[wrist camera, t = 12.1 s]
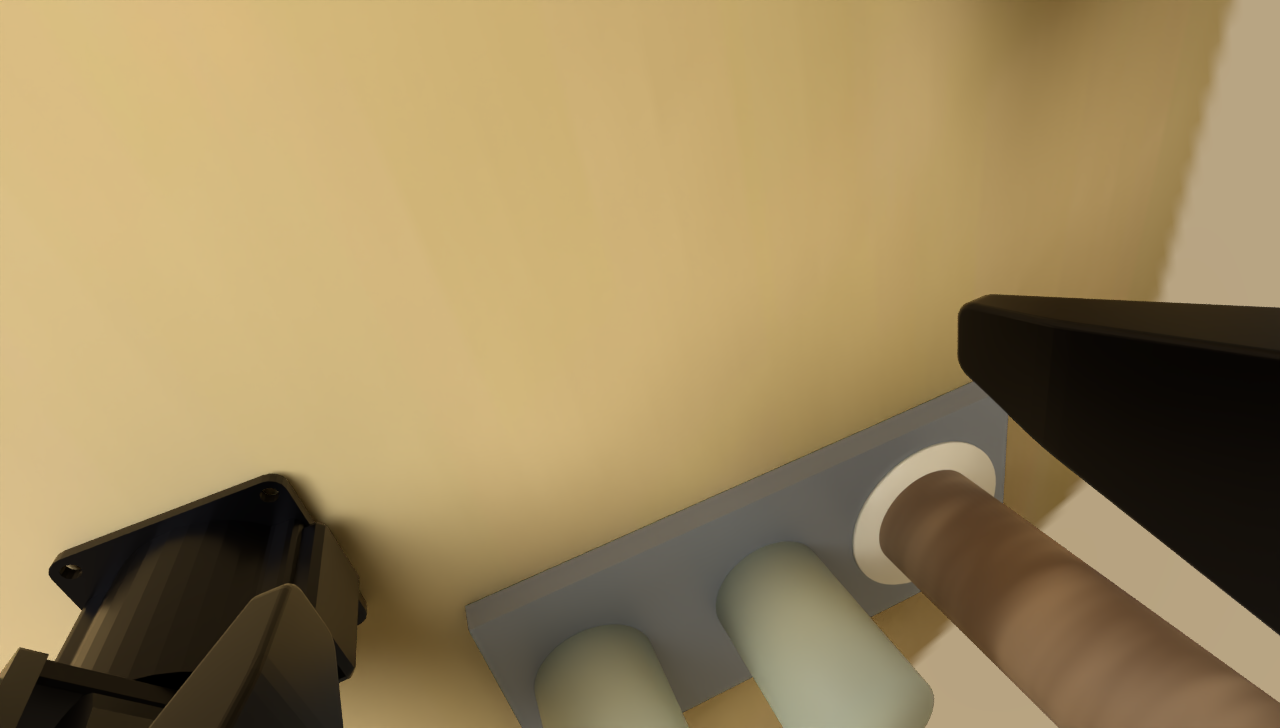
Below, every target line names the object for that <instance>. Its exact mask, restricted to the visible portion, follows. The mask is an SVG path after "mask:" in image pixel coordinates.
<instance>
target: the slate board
mask: <svg viewBox="0 0 1280 728" xmlns="http://www.w3.org/2000/svg"><path fill="white" fill-rule="evenodd" d="M1007 425H1008V414H1007V413H1006V412H1005V411H1004V410H1003V409H1002V408H1001V407H1000V406H999V405H998V404H997V403H995V402H994V401H993V400H992V399H991V398H990V397H989V396H988V395H987V394H986V393H985V392H984V391H983V390H982V389H981V388H980V387H979V386H978V385H977V384H976V383H975V382H974V381H973V382H971V383H969V384H966V385H964V386H962V387H960V388H957V389H955V390H953V391H951V392H948V393H946V394H944V395H942V396H939V397H937V398H935V399H933V400H930V401H928V402H926V403H924V404H921V405H919V406H917V407H914V408H912V409H910V410H908V411H905V412H903V413H901V414H899V415H896V416H894V417H892V418H890V419H887V420H885V421H883V422H881V423H878V424H876V425H874V426H872V427H869V428H867V429H865V430H862V431H860V432H858V433H856V434H853V435H851V436H849V437H847V438H844V439H842V440H840V441H838V442H835V443H833V444H831V445H829V446H826V447H824V448H822V449H820V450H817V451H815V452H813V453H810V454H808V455H806V456H804V457H801V458H799V459H797V460H795V461H792V462H790V463H788V464H786V465H783V466H781V467H779V468H777V469H774V470H772V471H770V472H768V473H765V474H763V475H761V476H759V477H756V478H754V479H752V480H749V481H747V482H745V483H743V484H740V485H738V486H736V487H734V488H731V489H729V490H727V491H725V492H722V493H720V494H718V495H716V496H713V497H711V498H709V499H707V500H704V501H702V502H700V503H697V504H695V505H693V506H691V507H688V508H686V509H684V510H682V511H679V512H677V513H675V514H673V515H670V516H668V517H666V518H664V519H661V520H659V521H657V522H655V523H652V524H650V525H648V526H646V527H643V528H641V529H639V530H636V531H634V532H632V533H630V534H627V535H625V536H623V537H621V538H618V539H616V540H614V541H612V542H609V543H607V544H605V545H603V546H600V547H598V548H596V549H594V550H591V551H589V552H587V553H584V554H582V555H580V556H578V557H575V558H573V559H571V560H569V561H566V562H564V563H562V564H560V565H557V566H555V567H553V568H551V569H548V570H546V571H544V572H542V573H539V574H537V575H535V576H533V577H530V578H528V579H526V580H523V581H521V582H519V583H517V584H514V585H512V586H510V587H508V588H505V589H503V590H501V591H499V592H496V593H494V594H492V595H490V596H487V597H485V598H483V599H481V600H478V601H476V602H474V603H471V604H469V605H467V606H465V610H466V617H467V623H468V630H469V632H470V634H471V636H472V638H473V639H474V641H475V643H476V645H477V647H478V648H479V650H480V652H481V654H482V656H483V658H484V659H485V661H486V663H487V665H488V667H489V669H490V670H491V672H492V674H493V676H494V678H495V679H496V681H497V683H498V685H499V687H500V689H501V690H502V692H503V694H504V696H505V698H506V699H507V701H508V703H509V705H510V707H511V709H512V710H513V712H514V714H515V716H516V718H517V720H518V721H519V723H520V725H521V727H522V728H543V725H542V721H541V717H540V713H539V709H538V705H537V700H536V696H535V691H534V684H535V679H536V675H537V673H538V670H539V668H540V666H541V665H542V663H543V662H544V660H545V659H546V658H547V656H548V655H549V654H550V653H551V652H552V651H553V650H554V649H555V648H556V647H557V646H559V645H560V644H561V643H562V642H564V641H565V640H567V639H568V638H570V637H572V636H574V635H576V634H577V633H580V632H582V631H584V630H587V629H590V628H593V627H597V626H602V625H611V624H618V625H626V626H630V627H633V628H635V629H637V630H639V631H641V632H642V633H643V634H644V635H645V636H647V638H648V639H649V641H650V643H651V645H652V647H653V649H654V651H655V654H656V656H657V658H658V660H659V662H660V665H661V667H662V669H663V671H664V673H665V676H666V678H667V680H668V682H669V684H670V687H671V689H672V691H673V693H674V695H675V698H676V700H677V702H678V704H679V706H680V708H681V711H682V713H683V712H685V711H687V710H689V709H691V708H693V707H695V706H697V705H699V704H701V703H703V702H705V701H707V700H709V699H710V698H712V697H714V696H716V695H718V694H720V693H722V692H724V691H726V690H728V689H730V688H732V687H734V686H736V685H738V684H740V683H742V682H744V681H746V680H748V679H750V678H752V677H753V676H752V675H751V673H750V671H749V670H748V668H747V666H746V665H745V663H744V661H743V660H742V658H741V656H740V655H739V653H738V651H737V650H736V648H735V646H734V644H733V643H732V641H731V639H730V638H729V636H728V634H727V633H726V631H725V629H724V628H723V626H722V624H721V623H720V621H719V619H718V617H717V613H716V599H717V595H718V592H719V589H720V587H721V585H722V583H723V581H724V580H725V578H726V577H727V575H728V574H729V572H730V571H731V570H732V569H733V568H734V567H735V566H736V565H737V564H738V563H739V562H740V561H741V560H743V559H744V558H745V557H746V556H748V555H749V554H751V553H752V552H754V551H756V550H758V549H760V548H762V547H764V546H767V545H770V544H773V543H778V542H786V541H790V542H798V543H801V544H804V545H806V546H807V547H809V548H810V549H811V550H812V551H813V552H814V553H815V554H816V555H817V556H818V558H819V559H820V560H821V561H822V562H823V563H824V565H825V566H826V567H827V568H828V569H829V570H830V571H831V573H832V574H833V575H834V576H835V577H836V578H837V580H838V581H839V582H840V583H841V584H842V585H843V586H844V588H845V589H846V590H847V591H848V592H849V593H850V595H851V596H852V597H853V598H854V599H855V600H856V601H857V603H858V604H859V605H860V606H861V607H862V608H863V610H864V611H865V612H866V613H867V614H868V615H869V616H870V617H872V616H874V615H876V614H878V613H880V612H882V611H884V610H886V609H888V608H890V607H892V606H894V605H896V604H898V603H900V602H902V601H904V600H905V599H907V598H909V597H911V596H913V595H915V594H917V593H919V592H921V591H920V590H919V589H918V588H917V587H916V586H915V585H914V584H913V583H912V582H911V581H910V580H909V579H908V578H907V577H906V576H905V575H904V574H903V573H902V572H901V571H900V570H899V569H898V568H897V567H896V566H895V565H894V564H893V563H892V562H891V561H890V560H889V559H888V558H887V557H886V556H885V555H884V553H883V552H882V550H881V547H880V543H879V532H880V527H881V524H882V521H883V518H884V516H885V514H886V512H887V510H888V509H889V507H890V505H891V504H892V503H893V501H894V500H895V499H896V497H897V496H898V495H899V494H900V493H901V492H902V491H903V490H904V489H905V488H906V487H908V486H909V485H910V484H911V483H913V482H914V481H916V480H917V479H919V478H921V477H923V476H924V475H927V474H929V473H932V472H935V471H939V470H953V471H957V472H959V473H961V474H963V475H964V476H965V477H967V478H968V479H970V480H971V481H972V482H974V483H975V484H977V485H978V486H979V487H981V488H982V489H983V490H985V491H986V492H988V493H989V494H990V495H992V496H993V497H995V498H996V499H997V500H999V501H1000V502H1002V503H1003V495H1004V477H1005V460H1006V442H1007Z"/></svg>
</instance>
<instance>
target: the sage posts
mask: <svg viewBox="0 0 1280 728" xmlns="http://www.w3.org/2000/svg"><path fill="white" fill-rule="evenodd" d="M716 613H717V617H718V619H719V621H720V623H721V624H722V626H723V628H724V629H725V631H726V633H727V634H728V636H729V638H730V639H731V641H732V643H733V644H734V646H735V648H736V650H737V651H738V653H739V655H740V656H741V658H742V660H743V661H744V663H745V665H746V666H747V668H748V670H749V671H750V673H751V675H752V676H753V678H754V680H755V681H756V683H757V685H758V686H759V688H760V690H761V691H762V693H763V695H764V697H765V698H766V700H767V702H768V703H769V705H770V707H771V708H772V710H773V712H774V713H775V715H776V717H777V718H778V720H779V722H780V723H781V725H782V727H783V728H925V726H926V725H927V723H928V721H929V719H930V716H931V713H932V710H933V705H934V695H933V692H932V689H931V688H930V686H929V685H928V683H927V682H926V681H925V680H924V679H923V678H922V677H921V675H920V674H919V673H918V672H917V671H916V670H915V668H914V667H913V666H912V665H911V664H910V663H909V661H908V660H907V659H906V658H905V657H904V656H903V655H902V653H901V652H900V651H899V650H898V649H897V648H896V646H895V645H894V644H893V643H892V642H891V641H890V640H889V638H888V637H887V636H886V635H885V634H884V633H883V631H882V630H881V629H880V628H879V627H878V626H877V625H876V623H875V622H874V621H873V620H872V619H871V618H870V616H869V615H868V614H867V613H866V612H865V611H864V610H863V608H862V607H861V606H860V605H859V604H858V603H857V601H856V600H855V599H854V598H853V597H852V596H851V595H850V593H849V592H848V591H847V590H846V589H845V588H844V586H843V585H842V584H841V583H840V582H839V581H838V580H837V578H836V577H835V576H834V575H833V574H832V573H831V571H830V570H829V569H828V568H827V567H826V566H825V565H824V563H823V562H822V561H821V560H820V559H819V558H818V556H817V555H816V554H815V553H814V552H813V551H812V550H811V549H810V548H809V547H807V546H806V545H804V544H801V543H798V542H790V541H786V542H778V543H773V544H770V545H767V546H764V547H762V548H760V549H758V550H756V551H754V552H752V553H751V554H749V555H748V556H746V557H745V558H744V559H743V560H741V561H740V562H739V563H738V564H737V565H736V566H735V567H734V568H733V569H732V570H731V571H730V572H729V574H728V575H727V577H726V578H725V580H724V581H723V583H722V585H721V587H720V589H719V592H718V595H717V599H716ZM534 691H535V696H536V700H537V705H538V709H539V713H540V717H541V721H542V725H543V728H689V726H688V724H687V722H686V719H685V717H684V715H683V713H682V711H681V708H680V706H679V704H678V702H677V700H676V698H675V695H674V693H673V691H672V689H671V687H670V684H669V682H668V680H667V678H666V676H665V673H664V671H663V669H662V667H661V665H660V662H659V660H658V658H657V656H656V654H655V651H654V649H653V647H652V645H651V643H650V641H649V639H648V638H647V636H645V635H644V634H643V633H642V632H641V631H639V630H637V629H635V628H633V627H630V626H626V625H618V624H611V625H602V626H597V627H593V628H590V629H587V630H584V631H582V632H580V633H577V634H576V635H574V636H572V637H570V638H568V639H567V640H565V641H564V642H562V643H561V644H560V645H559V646H557V647H556V648H555V649H554V650H553V651H552V652H551V653H550V654H549V655H548V656H547V658H546V659H545V660H544V662H543V663H542V665H541V666H540V668H539V670H538V673H537V675H536V679H535V684H534Z"/></svg>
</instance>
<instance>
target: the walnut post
mask: <svg viewBox="0 0 1280 728" xmlns="http://www.w3.org/2000/svg"><path fill="white" fill-rule="evenodd" d="M879 543H880V547H881V550H882V552H883V553H884V555H885V556H886V557H887V558H888V559H889V560H890V561H891V562H892V563H893V564H894V565H895V566H896V567H897V568H898V569H899V570H900V571H901V572H902V573H903V574H904V575H905V576H906V577H907V578H908V579H909V580H910V581H911V582H912V583H913V584H914V585H915V586H916V587H917V588H918V589H919V590H920V591H921V592H922V593H923V594H924V595H925V596H926V597H928V598H929V599H930V600H931V601H932V602H933V603H934V604H935V605H936V606H937V607H938V608H939V609H940V610H941V611H942V612H943V613H944V614H945V615H946V616H947V617H948V618H949V619H950V620H951V621H952V622H953V623H954V624H955V625H956V626H957V627H958V628H959V629H960V630H961V631H962V632H963V633H964V634H965V635H966V636H967V637H968V638H969V639H970V640H971V641H972V642H973V643H974V644H975V645H976V646H977V647H978V648H979V649H980V650H981V651H982V652H983V653H984V654H985V655H986V656H987V657H988V658H989V659H990V660H991V661H992V662H993V663H994V664H995V665H996V666H997V667H998V668H999V669H1000V670H1001V671H1002V672H1003V673H1004V674H1005V675H1006V676H1007V677H1008V678H1009V679H1010V680H1011V681H1012V682H1014V684H1015V685H1016V686H1017V687H1018V688H1019V689H1020V690H1021V691H1022V692H1023V693H1024V694H1025V695H1026V696H1027V697H1028V698H1029V699H1031V701H1032V702H1033V703H1034V704H1035V705H1036V706H1038V707H1039V708H1040V710H1042V712H1043V713H1045V714H1046V715H1047V716H1048V717H1049V718H1050V719H1051V720H1052V721H1053V722H1054V723H1055V724H1056V725H1057V726H1058V727H1059V728H1280V703H1279V702H1278V701H1276V700H1275V699H1273V698H1272V697H1271V696H1269V695H1268V694H1267V693H1265V692H1264V691H1262V690H1261V689H1260V688H1258V687H1257V686H1256V685H1254V684H1252V683H1251V682H1250V681H1249V680H1247V679H1246V678H1244V677H1243V676H1242V675H1240V674H1239V673H1237V672H1236V671H1235V670H1233V669H1232V668H1230V667H1229V666H1228V665H1226V664H1225V663H1224V662H1222V661H1221V660H1219V659H1218V658H1217V657H1215V656H1214V655H1213V654H1211V653H1210V652H1208V651H1207V650H1205V649H1204V648H1203V647H1201V646H1200V645H1198V644H1197V643H1196V642H1194V641H1193V640H1192V639H1190V638H1189V637H1188V636H1186V635H1185V634H1183V633H1182V632H1181V631H1179V630H1178V629H1176V628H1175V627H1174V626H1172V625H1171V624H1169V623H1168V622H1167V621H1165V620H1164V619H1162V618H1161V617H1160V616H1158V615H1157V614H1156V613H1154V612H1153V611H1151V610H1150V609H1149V608H1147V607H1146V606H1145V605H1143V604H1142V603H1140V602H1139V601H1138V600H1136V599H1135V598H1133V597H1132V596H1130V595H1129V594H1128V593H1126V592H1125V591H1124V590H1122V589H1121V588H1119V587H1118V586H1117V585H1115V584H1114V583H1113V582H1111V581H1110V580H1108V579H1107V578H1106V577H1104V576H1103V575H1101V574H1100V573H1099V572H1097V571H1096V570H1094V569H1093V568H1092V567H1090V566H1089V565H1088V564H1086V563H1085V562H1083V561H1082V560H1081V559H1079V558H1078V557H1076V556H1075V555H1074V554H1072V553H1071V552H1070V551H1068V550H1067V549H1065V548H1064V547H1062V546H1061V545H1060V544H1058V543H1057V542H1056V541H1054V540H1053V539H1052V538H1050V537H1049V536H1047V535H1046V534H1045V533H1043V532H1042V531H1040V530H1039V529H1038V528H1036V527H1035V526H1033V525H1032V524H1031V523H1029V522H1028V521H1027V520H1025V519H1024V518H1022V517H1021V516H1020V515H1018V514H1017V513H1015V512H1014V511H1013V510H1011V509H1010V508H1008V507H1007V506H1006V505H1004V504H1003V503H1002V502H1000V501H999V500H997V499H996V498H995V497H993V496H992V495H990V494H989V493H988V492H986V491H985V490H983V489H982V488H981V487H979V486H978V485H977V484H975V483H974V482H972V481H971V480H970V479H968V478H967V477H965V476H964V475H963V474H961V473H959V472H957V471H953V470H939V471H935V472H932V473H929V474H927V475H924V476H923V477H921V478H919V479H917V480H916V481H914V482H913V483H911V484H910V485H909V486H908V487H906V488H905V489H904V490H903V491H902V492H901V493H900V494H899V495H898V496H897V497H896V499H895V500H894V501H893V503H892V504H891V505H890V507H889V509H888V510H887V512H886V514H885V516H884V518H883V521H882V524H881V527H880V532H879Z"/></svg>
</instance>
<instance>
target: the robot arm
mask: <svg viewBox="0 0 1280 728" xmlns="http://www.w3.org/2000/svg"><path fill="white" fill-rule="evenodd" d="M957 355H958V361H959V364H960V366H961V368H962V370H963V371H964V372H965V374H966V375H967V376H968V377H969V378H970V379H971V380H973V381H974V382H975V383H976V384H977V385H978V386H979V387H980V388H981V389H982V390H983V391H984V392H985V393H986V394H987V395H988V396H989V397H990V398H991V399H992V400H993V401H994V402H995V403H997V404H998V405H999V406H1000V407H1001V408H1002V409H1003V410H1004V411H1005V412H1006V413H1007V414H1008V415H1009V416H1010V417H1011V418H1012V419H1013V420H1014V421H1015V422H1016V423H1017V424H1018V425H1019V426H1020V427H1022V428H1023V429H1024V430H1025V431H1026V432H1027V433H1028V434H1029V435H1030V436H1031V437H1032V438H1033V439H1034V440H1035V441H1036V442H1038V443H1039V444H1040V445H1041V446H1042V447H1043V448H1044V449H1045V450H1047V451H1048V452H1049V453H1050V454H1052V455H1053V456H1054V457H1055V458H1056V459H1058V460H1059V461H1060V462H1061V463H1063V464H1064V465H1065V466H1066V467H1068V468H1069V469H1070V470H1071V471H1073V472H1074V473H1075V474H1077V475H1078V476H1079V477H1080V478H1082V479H1083V480H1084V481H1085V482H1087V483H1088V484H1089V485H1090V486H1092V487H1093V488H1094V489H1095V490H1097V491H1098V492H1099V493H1100V494H1102V495H1103V496H1104V497H1106V498H1107V499H1108V500H1110V501H1111V502H1112V503H1113V504H1114V505H1116V506H1117V507H1118V508H1119V509H1121V510H1122V511H1123V512H1125V513H1126V514H1127V515H1128V516H1130V517H1131V518H1132V519H1133V520H1135V521H1136V522H1137V523H1138V524H1140V525H1141V526H1142V527H1143V528H1145V529H1146V530H1147V531H1148V532H1150V533H1151V534H1152V535H1154V536H1155V537H1156V538H1157V539H1159V540H1160V541H1161V542H1163V543H1164V544H1165V545H1166V546H1167V547H1169V548H1170V549H1171V550H1173V551H1174V552H1175V553H1176V554H1178V555H1179V556H1180V557H1181V558H1183V559H1184V560H1185V561H1186V562H1188V563H1189V564H1190V565H1191V566H1193V567H1194V568H1195V569H1196V570H1198V571H1199V572H1200V573H1202V574H1203V575H1204V576H1205V577H1207V578H1208V579H1209V580H1210V581H1212V582H1213V583H1214V584H1216V585H1217V586H1218V587H1219V588H1220V589H1222V590H1223V591H1224V592H1226V593H1227V594H1228V595H1229V596H1231V597H1232V598H1233V599H1234V600H1236V601H1237V602H1238V603H1239V604H1241V605H1242V606H1243V607H1244V608H1246V609H1247V610H1248V611H1250V612H1251V613H1252V614H1253V615H1255V616H1256V617H1257V618H1258V619H1260V620H1261V621H1262V622H1263V623H1265V624H1266V625H1267V626H1268V627H1270V628H1271V629H1272V630H1273V631H1275V632H1276V633H1277V634H1279V635H1280V308H1275V307H1253V306H1231V305H1211V304H1190V303H1168V302H1147V301H1126V300H1104V299H1083V298H1062V297H1040V296H1019V295H997V294H990V295H985V296H983V297H980V298H978V299H975V300H973V301H971V302H968V303H966V304H964V305H963V306H962V307H961V309H960V311H959V313H958V349H957ZM267 488H273V489H276V490H277V491H278V493H277V494H274V495H269V494H266V493H264V492H263V490H264V489H267ZM66 565H76V566H78V567H80V568H81V569H79V570H74V569H70V568H68V567H67V566H66ZM49 576H50V577H51V579H52V580H53V581H54V582H55V583H56V584H57V585H58V586H59V587H60V588H61V590H62V591H63V592H64V593H65V594H66V595H67V596H68V597H69V598H70V599H71V600H72V601H73V602H74V603H75V604H76V605H77V606H78V607H79V608H80V609H81V610H82V611H81V613H80V615H79V617H78V619H77V621H76V623H75V624H74V626H73V628H72V630H71V632H70V634H69V636H68V637H67V639H66V641H65V643H64V645H63V647H62V649H61V650H60V652H59V654H58V656H57V658H56V660H55V661H51V660H47V657H48V655H49V654H45V653H41V652H37V651H33V650H29V649H25V648H19V649H18V650H17V651H16V653H15V654H14V655H13V657H12V658H11V660H10V661H9V662H8V664H7V665H6V666H5V668H4V669H3V670H2V672H1V673H0V728H343V719H342V710H341V700H340V690H339V683H340V682H342V681H344V680H347V679H349V678H351V676H352V674H353V672H354V669H355V667H356V644H357V625H359V624H361V623H362V622H363V621H364V620H365V619H366V615H367V604H366V601H365V599H364V598H363V596H362V595H361V593H360V592H359V576H358V574H357V572H356V571H355V569H354V568H353V566H352V564H351V563H350V561H349V560H348V558H347V557H346V555H345V553H344V552H343V550H342V549H341V547H340V546H339V544H338V542H337V541H336V539H335V538H334V536H333V535H332V533H331V531H330V530H329V528H328V527H327V525H325V524H322V523H320V522H314V520H313V519H312V517H311V516H310V514H309V513H308V511H307V510H306V508H305V506H304V505H303V503H302V502H301V500H300V499H299V497H298V496H297V494H296V493H295V491H294V489H293V488H292V486H291V485H290V483H289V482H288V481H287V480H286V479H285V478H284V477H283V476H280V475H278V474H267V475H262V476H260V477H257V478H255V479H252V480H249V481H247V482H244V483H241V484H239V485H236V486H234V487H231V488H228V489H226V490H223V491H220V492H218V493H215V494H212V495H210V496H207V497H205V498H202V499H199V500H197V501H194V502H191V503H189V504H186V505H184V506H181V507H178V508H176V509H173V510H170V511H168V512H165V513H162V514H160V515H157V516H155V517H152V518H149V519H147V520H144V521H141V522H139V523H136V524H134V525H131V526H128V527H126V528H123V529H120V530H118V531H115V532H112V533H110V534H107V535H105V536H102V537H99V538H97V539H94V540H91V541H89V542H86V543H84V544H81V545H78V546H76V547H73V548H70V549H68V550H65V551H63V552H62V553H60V554H59V555H58V556H57V557H56V559H55V560H54V562H53V563H52V565H51V566H50V568H49Z"/></svg>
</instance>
